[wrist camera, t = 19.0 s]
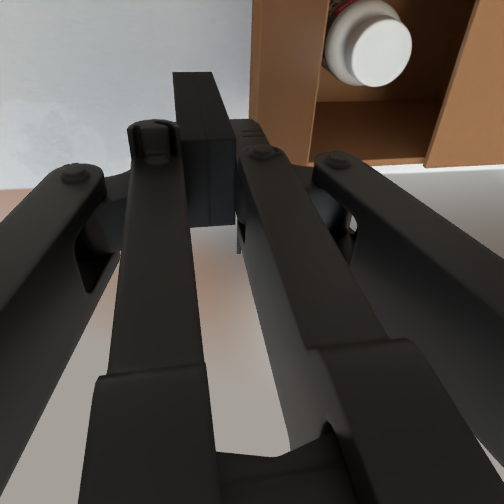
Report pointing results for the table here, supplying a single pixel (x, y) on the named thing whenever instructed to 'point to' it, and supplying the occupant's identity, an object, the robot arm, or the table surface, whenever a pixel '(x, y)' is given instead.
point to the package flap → (286, 71)
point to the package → (424, 93)
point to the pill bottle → (365, 42)
